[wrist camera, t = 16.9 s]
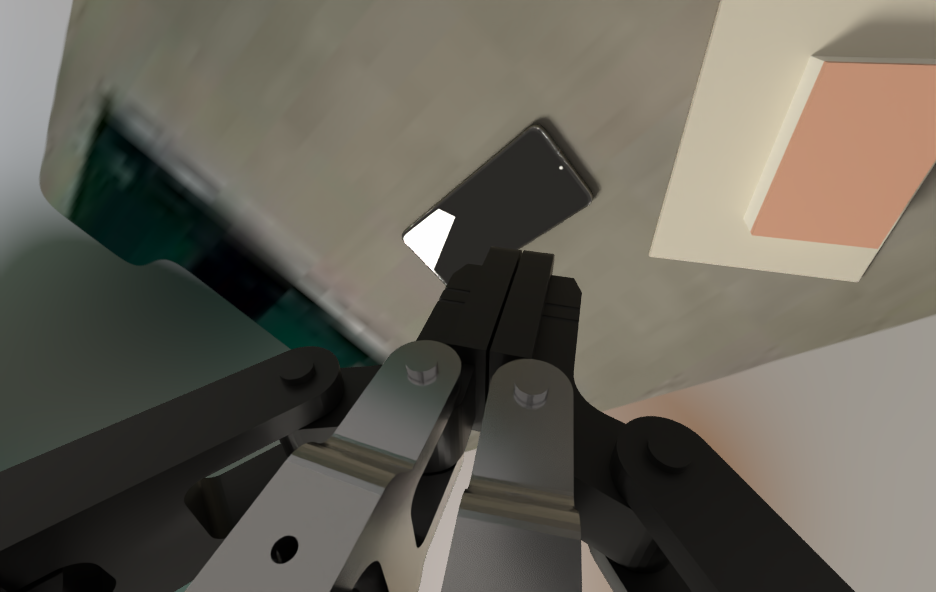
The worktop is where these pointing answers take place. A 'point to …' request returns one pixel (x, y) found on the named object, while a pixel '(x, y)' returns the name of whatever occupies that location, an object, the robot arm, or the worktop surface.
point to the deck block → (848, 151)
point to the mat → (769, 124)
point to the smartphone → (500, 205)
